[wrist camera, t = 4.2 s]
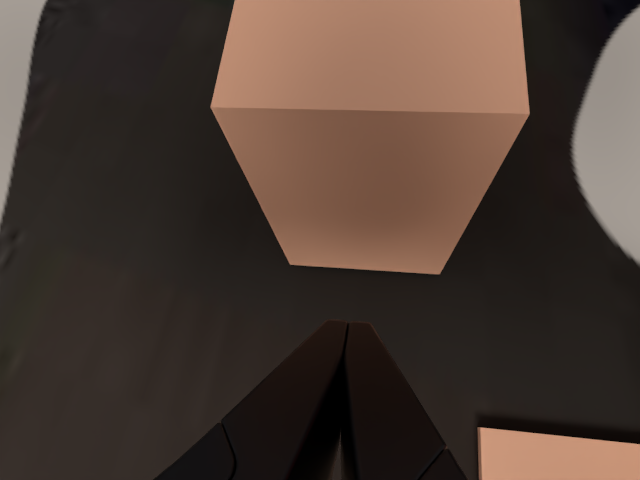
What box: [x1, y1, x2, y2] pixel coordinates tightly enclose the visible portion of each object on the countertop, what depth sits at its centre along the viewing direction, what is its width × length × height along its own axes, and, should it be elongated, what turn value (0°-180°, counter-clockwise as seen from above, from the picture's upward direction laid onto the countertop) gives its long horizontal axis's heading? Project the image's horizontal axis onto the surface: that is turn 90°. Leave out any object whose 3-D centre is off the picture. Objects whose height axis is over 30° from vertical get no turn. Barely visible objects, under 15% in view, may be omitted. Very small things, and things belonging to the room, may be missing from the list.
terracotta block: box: [211, 0, 530, 274], centre depth 14 cm, size 6×6×10 cm
